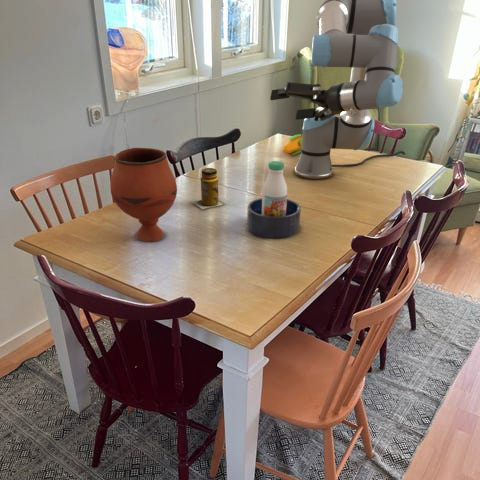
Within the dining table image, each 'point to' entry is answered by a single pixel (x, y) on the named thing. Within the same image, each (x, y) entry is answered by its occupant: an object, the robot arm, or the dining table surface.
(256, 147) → the dining table surface
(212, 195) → the condiment
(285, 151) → the corn
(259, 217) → the pot
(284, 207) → the milk bottle
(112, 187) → the goblet
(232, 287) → the dining table surface
